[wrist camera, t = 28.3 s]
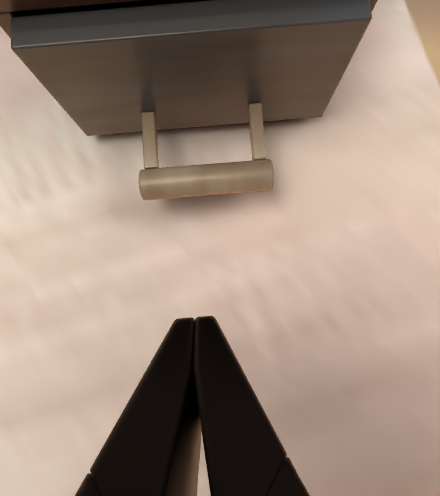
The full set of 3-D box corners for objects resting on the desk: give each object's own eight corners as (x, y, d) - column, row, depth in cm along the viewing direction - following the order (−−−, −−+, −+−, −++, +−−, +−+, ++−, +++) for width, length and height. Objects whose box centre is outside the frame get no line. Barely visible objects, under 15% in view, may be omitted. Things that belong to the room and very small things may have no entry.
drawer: (330, 194, 20) (389, 135, 12) (89, 213, 20) (10, 165, 13) (297, -94, 22) (331, -285, 15) (79, -75, 22) (8, -255, 15)
